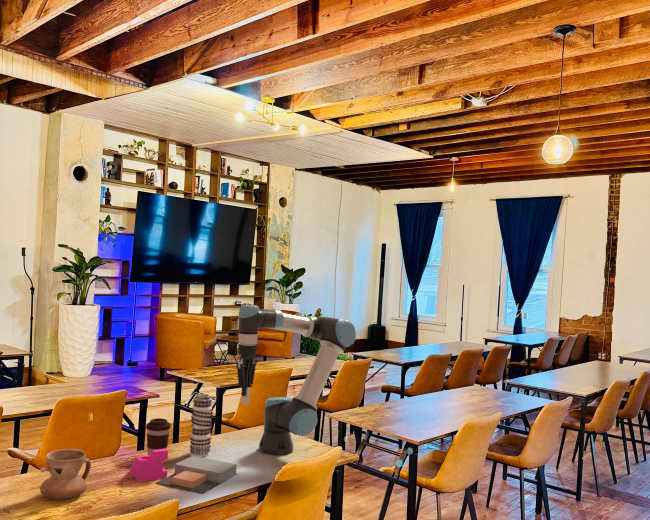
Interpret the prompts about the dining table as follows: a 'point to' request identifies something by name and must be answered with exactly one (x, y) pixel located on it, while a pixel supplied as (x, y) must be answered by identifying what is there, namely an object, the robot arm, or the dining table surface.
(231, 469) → the board
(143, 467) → the bracket
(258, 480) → the dining table surface
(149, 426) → the coffee cup
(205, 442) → the decorative candle
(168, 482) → the mat
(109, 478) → the dining table surface
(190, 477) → the coaster
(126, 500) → the dining table surface
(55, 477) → the ceramic jug
